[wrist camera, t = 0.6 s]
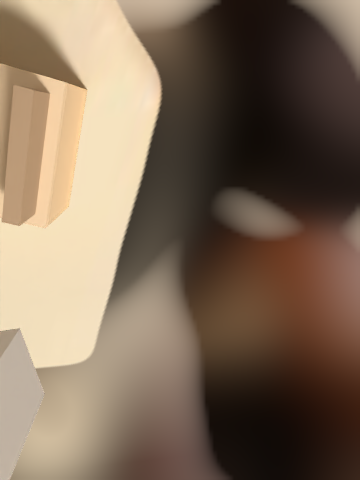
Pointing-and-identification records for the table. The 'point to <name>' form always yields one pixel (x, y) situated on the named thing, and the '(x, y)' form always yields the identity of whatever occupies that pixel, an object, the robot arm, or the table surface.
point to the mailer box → (67, 150)
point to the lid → (28, 144)
